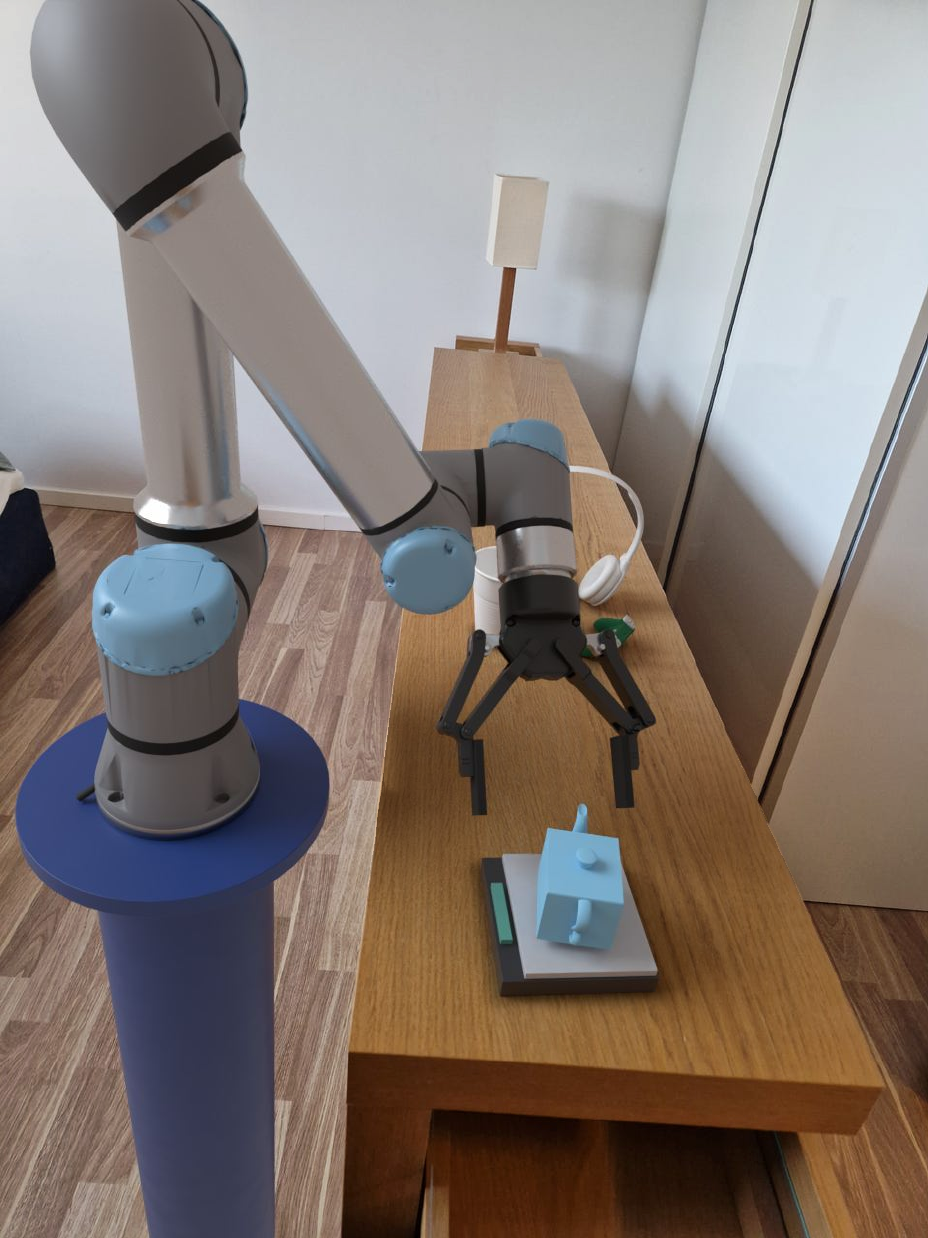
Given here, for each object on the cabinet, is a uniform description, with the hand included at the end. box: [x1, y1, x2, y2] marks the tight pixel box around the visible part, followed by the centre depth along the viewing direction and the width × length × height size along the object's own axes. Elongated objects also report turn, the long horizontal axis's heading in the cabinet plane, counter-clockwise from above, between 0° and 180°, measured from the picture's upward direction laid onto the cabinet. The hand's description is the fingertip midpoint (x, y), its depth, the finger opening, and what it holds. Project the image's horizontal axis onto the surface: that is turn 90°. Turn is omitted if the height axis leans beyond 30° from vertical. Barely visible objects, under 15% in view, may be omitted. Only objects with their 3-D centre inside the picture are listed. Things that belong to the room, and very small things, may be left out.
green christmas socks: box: [580, 614, 636, 658], centre depth 116 cm, size 9×4×6 cm
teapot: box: [536, 803, 624, 950], centre depth 73 cm, size 12×6×8 cm, turn 175°
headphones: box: [568, 465, 645, 607], centre depth 122 cm, size 7×18×20 cm, turn 84°
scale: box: [479, 853, 660, 997], centre depth 76 cm, size 13×13×2 cm
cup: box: [472, 545, 503, 635], centre depth 113 cm, size 10×10×11 cm
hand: (553, 812), depth 78 cm, fingers open, 13 cm apart
